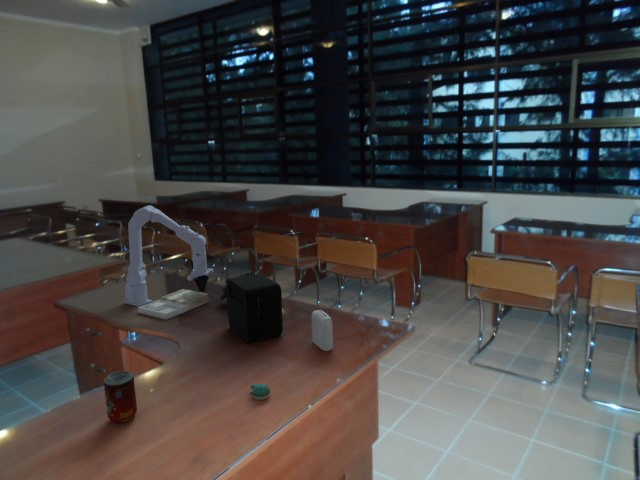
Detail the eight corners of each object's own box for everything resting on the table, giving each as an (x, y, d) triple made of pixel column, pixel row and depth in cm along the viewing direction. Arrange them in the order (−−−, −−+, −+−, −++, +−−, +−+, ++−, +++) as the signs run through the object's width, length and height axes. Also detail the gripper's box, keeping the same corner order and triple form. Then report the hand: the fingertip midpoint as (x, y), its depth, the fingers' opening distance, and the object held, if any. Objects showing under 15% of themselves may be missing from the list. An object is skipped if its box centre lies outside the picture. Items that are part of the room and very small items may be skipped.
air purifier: (286, 336, 171) (284, 284, 167) (248, 345, 163) (246, 291, 159) (263, 319, 188) (261, 271, 184) (228, 327, 180) (225, 277, 176)
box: (138, 313, 197) (137, 307, 196) (161, 304, 207) (160, 299, 207) (166, 320, 189) (166, 314, 188) (188, 310, 199) (188, 305, 198)
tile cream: (158, 301, 203) (158, 305, 204) (149, 305, 199) (149, 309, 200) (166, 303, 201) (166, 307, 201) (157, 306, 197) (157, 311, 197)
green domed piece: (254, 403, 127) (253, 391, 126) (245, 391, 133) (244, 379, 133) (274, 398, 130) (273, 385, 129) (264, 386, 136) (263, 374, 135)
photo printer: (310, 341, 166) (309, 308, 164) (321, 339, 168) (320, 306, 165) (323, 352, 157) (322, 317, 155) (334, 350, 159) (334, 315, 156)
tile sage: (183, 298, 204) (182, 293, 204) (191, 294, 208) (191, 290, 208) (191, 300, 202) (191, 295, 201) (199, 296, 206) (199, 292, 205)
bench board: (161, 304, 207) (161, 297, 206) (183, 296, 218) (183, 289, 217) (187, 310, 199) (187, 302, 198) (209, 301, 210) (208, 294, 209)
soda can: (103, 420, 120) (98, 376, 118) (129, 408, 126) (124, 366, 123) (116, 430, 116) (111, 385, 113) (143, 417, 121) (138, 374, 119)
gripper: (194, 267, 199) (196, 297, 202) (218, 260, 212) (219, 288, 214) (182, 265, 203) (185, 295, 206) (206, 258, 215) (208, 286, 218)
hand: (202, 291), depth 210 cm, fingers closed
